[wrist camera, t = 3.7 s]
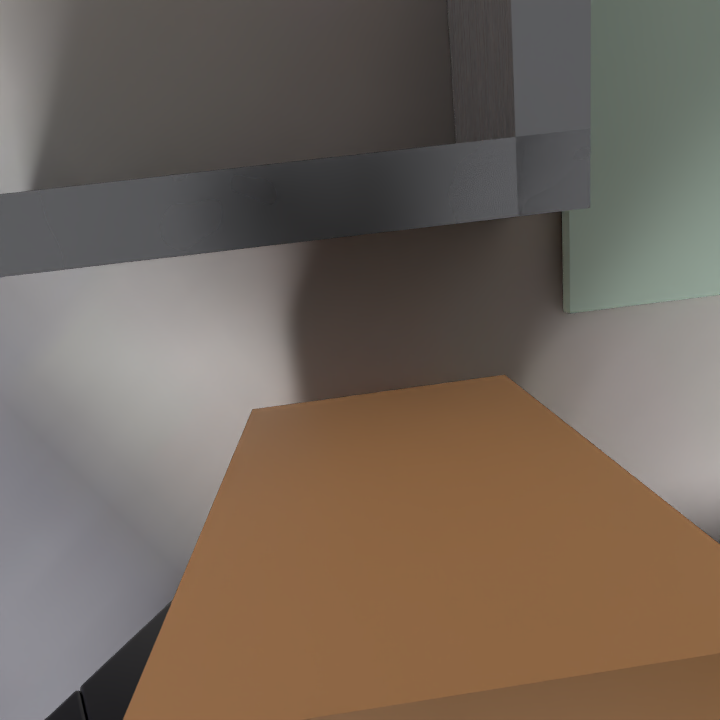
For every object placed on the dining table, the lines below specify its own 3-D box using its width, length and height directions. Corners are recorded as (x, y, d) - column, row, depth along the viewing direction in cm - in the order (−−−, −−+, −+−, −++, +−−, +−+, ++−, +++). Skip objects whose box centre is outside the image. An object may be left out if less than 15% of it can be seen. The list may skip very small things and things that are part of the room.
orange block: (515, 589, 10) (773, 1072, 4) (292, 623, 10) (245, 1171, 4) (505, 374, 9) (834, 634, 3) (251, 409, 9) (109, 749, 3)
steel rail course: (949, 611, 13) (1131, 720, 10) (162, 729, 12) (111, 885, 9) (1128, -221, 9) (1535, -451, 6) (-65, -114, 8) (-292, -316, 5)
